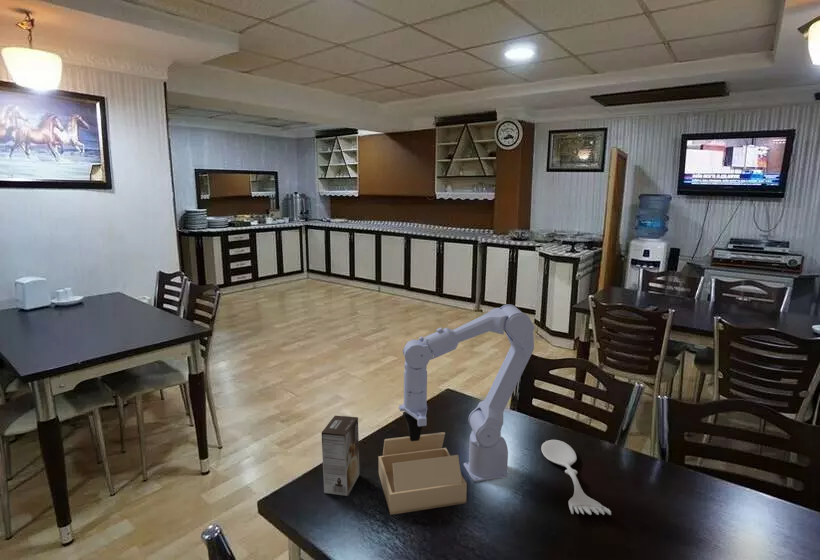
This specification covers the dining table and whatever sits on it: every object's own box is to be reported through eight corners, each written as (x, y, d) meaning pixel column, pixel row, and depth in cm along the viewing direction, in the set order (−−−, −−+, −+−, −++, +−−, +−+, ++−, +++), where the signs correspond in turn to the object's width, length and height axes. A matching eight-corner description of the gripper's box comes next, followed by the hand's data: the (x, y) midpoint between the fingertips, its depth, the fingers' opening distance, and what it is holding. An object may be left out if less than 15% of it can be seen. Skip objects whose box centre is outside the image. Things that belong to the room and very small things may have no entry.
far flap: (441, 447, 123) (441, 446, 123) (445, 433, 119) (444, 432, 120) (383, 455, 119) (383, 453, 120) (384, 440, 116) (384, 439, 116)
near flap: (395, 491, 105) (395, 492, 104) (392, 463, 107) (392, 463, 106) (461, 482, 108) (461, 482, 108) (457, 454, 110) (458, 454, 110)
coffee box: (336, 471, 121) (334, 414, 119) (360, 474, 120) (358, 416, 117) (323, 493, 113) (320, 431, 110) (348, 497, 111) (346, 434, 108)
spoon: (570, 524, 102) (571, 510, 102) (537, 447, 134) (538, 436, 133) (612, 525, 102) (613, 511, 101) (569, 447, 133) (570, 436, 133)
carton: (445, 465, 124) (445, 447, 123) (466, 503, 109) (466, 483, 108) (378, 474, 120) (378, 456, 119) (390, 514, 105) (390, 494, 104)
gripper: (393, 379, 122) (393, 428, 124) (406, 402, 108) (405, 456, 110) (419, 377, 123) (418, 425, 126) (435, 399, 109) (434, 453, 112)
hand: (414, 439), depth 118 cm, fingers closed, pressing on far flap
